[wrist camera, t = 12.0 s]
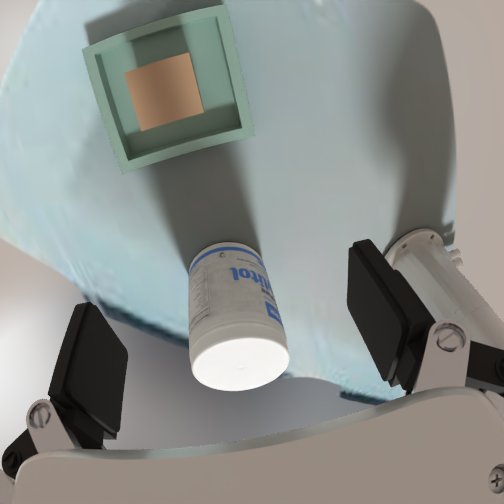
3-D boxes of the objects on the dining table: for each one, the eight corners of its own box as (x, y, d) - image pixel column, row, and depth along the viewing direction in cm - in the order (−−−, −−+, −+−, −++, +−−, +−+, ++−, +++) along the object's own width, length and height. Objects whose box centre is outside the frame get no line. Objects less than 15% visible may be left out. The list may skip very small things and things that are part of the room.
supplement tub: (276, 252, 39) (313, 345, 27) (243, 304, 43) (263, 396, 31) (203, 228, 35) (213, 327, 23) (176, 287, 39) (177, 386, 27)
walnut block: (190, 54, 23) (188, 52, 18) (202, 103, 26) (204, 112, 21) (137, 70, 23) (124, 72, 18) (151, 117, 26) (141, 131, 21)
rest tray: (223, 8, 21) (226, 3, 19) (250, 129, 29) (255, 135, 27) (90, 50, 21) (81, 49, 19) (127, 165, 29) (122, 173, 27)
